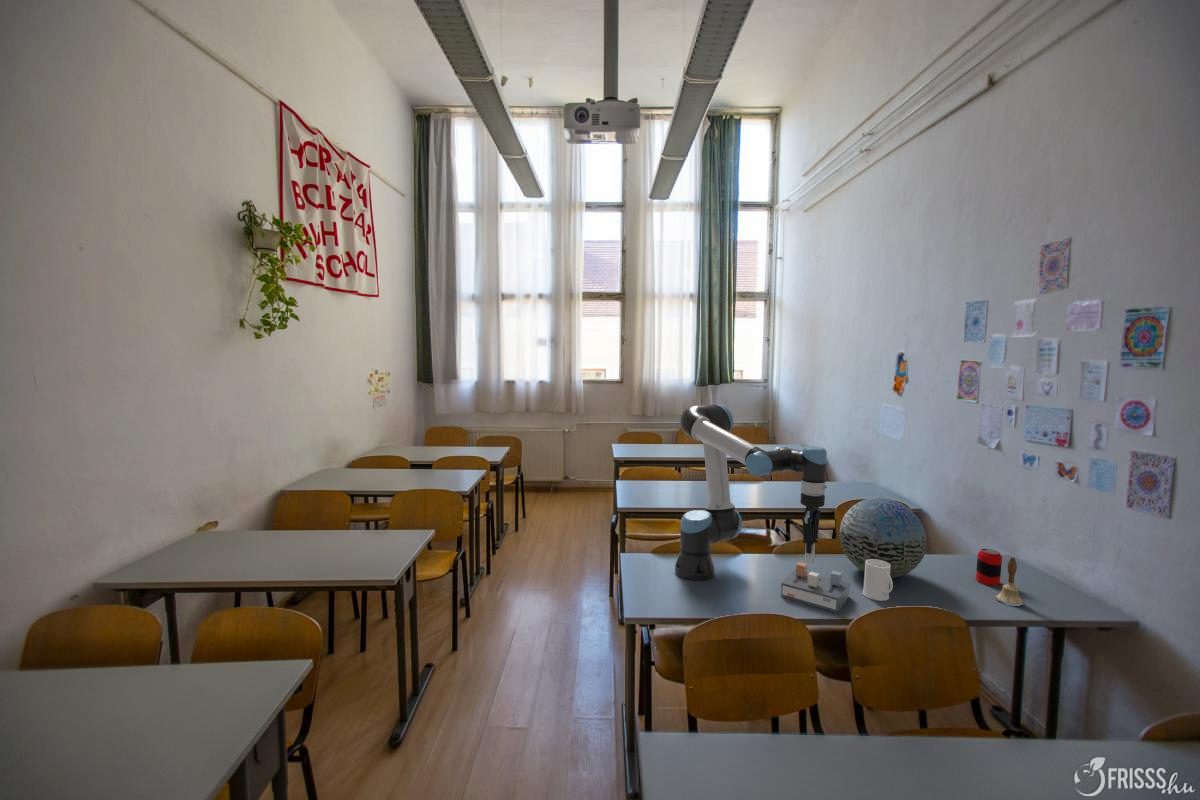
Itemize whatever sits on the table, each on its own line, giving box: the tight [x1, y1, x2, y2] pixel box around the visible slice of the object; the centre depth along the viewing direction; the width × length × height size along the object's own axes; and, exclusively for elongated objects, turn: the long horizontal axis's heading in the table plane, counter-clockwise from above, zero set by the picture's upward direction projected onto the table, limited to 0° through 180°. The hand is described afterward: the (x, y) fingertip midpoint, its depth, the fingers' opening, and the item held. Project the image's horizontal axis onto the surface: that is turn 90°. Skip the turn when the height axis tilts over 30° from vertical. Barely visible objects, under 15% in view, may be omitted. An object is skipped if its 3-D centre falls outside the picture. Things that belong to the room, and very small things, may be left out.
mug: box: [862, 559, 894, 602], centre depth 197 cm, size 12×8×12 cm
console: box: [780, 568, 850, 613], centre depth 197 cm, size 19×16×5 cm
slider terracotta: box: [795, 561, 808, 577], centre depth 203 cm, size 3×3×4 cm
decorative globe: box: [839, 497, 927, 579], centre depth 216 cm, size 30×30×30 cm
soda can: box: [975, 548, 1003, 586], centre depth 212 cm, size 8×8×12 cm
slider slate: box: [829, 570, 843, 586], centre depth 196 cm, size 3×3×4 cm
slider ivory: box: [807, 571, 820, 587], centre depth 195 cm, size 3×3×4 cm
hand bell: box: [995, 556, 1024, 604], centre depth 195 cm, size 8×8×16 cm
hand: (809, 561), depth 189 cm, fingers closed
